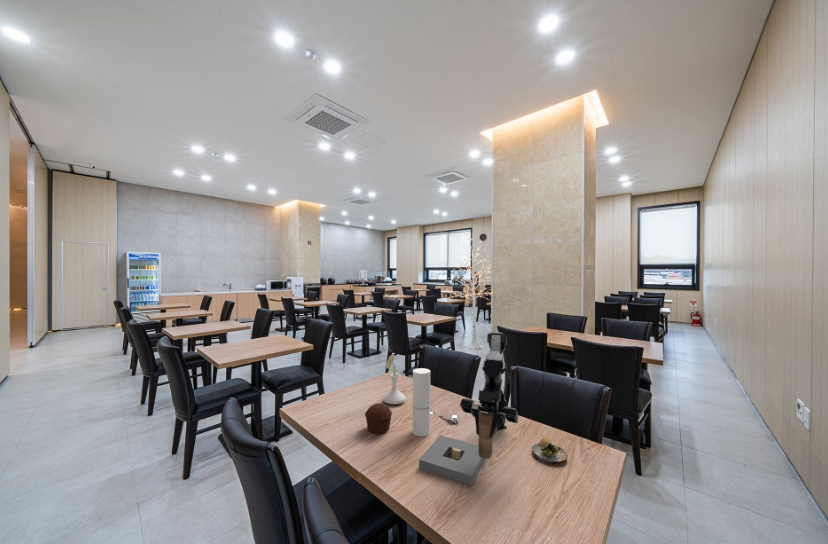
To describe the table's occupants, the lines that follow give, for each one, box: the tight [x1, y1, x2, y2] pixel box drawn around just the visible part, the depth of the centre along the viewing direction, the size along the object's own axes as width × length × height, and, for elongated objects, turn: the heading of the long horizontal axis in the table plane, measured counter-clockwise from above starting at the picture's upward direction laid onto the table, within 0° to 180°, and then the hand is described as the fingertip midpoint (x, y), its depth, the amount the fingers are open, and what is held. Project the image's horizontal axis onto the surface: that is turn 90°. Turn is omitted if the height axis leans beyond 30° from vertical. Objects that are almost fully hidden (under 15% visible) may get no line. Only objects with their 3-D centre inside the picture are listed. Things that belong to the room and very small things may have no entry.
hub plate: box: [418, 434, 486, 486], centre depth 108 cm, size 18×18×3 cm
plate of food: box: [531, 435, 568, 466], centre depth 113 cm, size 12×12×8 cm
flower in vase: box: [382, 353, 406, 405], centre depth 158 cm, size 13×11×25 cm
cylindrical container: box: [412, 367, 431, 437], centre depth 129 cm, size 7×7×25 cm
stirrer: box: [430, 408, 461, 425], centre depth 143 cm, size 20×4×5 cm
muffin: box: [364, 402, 393, 436], centre depth 131 cm, size 12×11×10 cm
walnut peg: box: [478, 412, 493, 460], centre depth 103 cm, size 4×4×13 cm
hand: (484, 436), depth 102 cm, fingers closed on walnut peg, 4 cm apart
